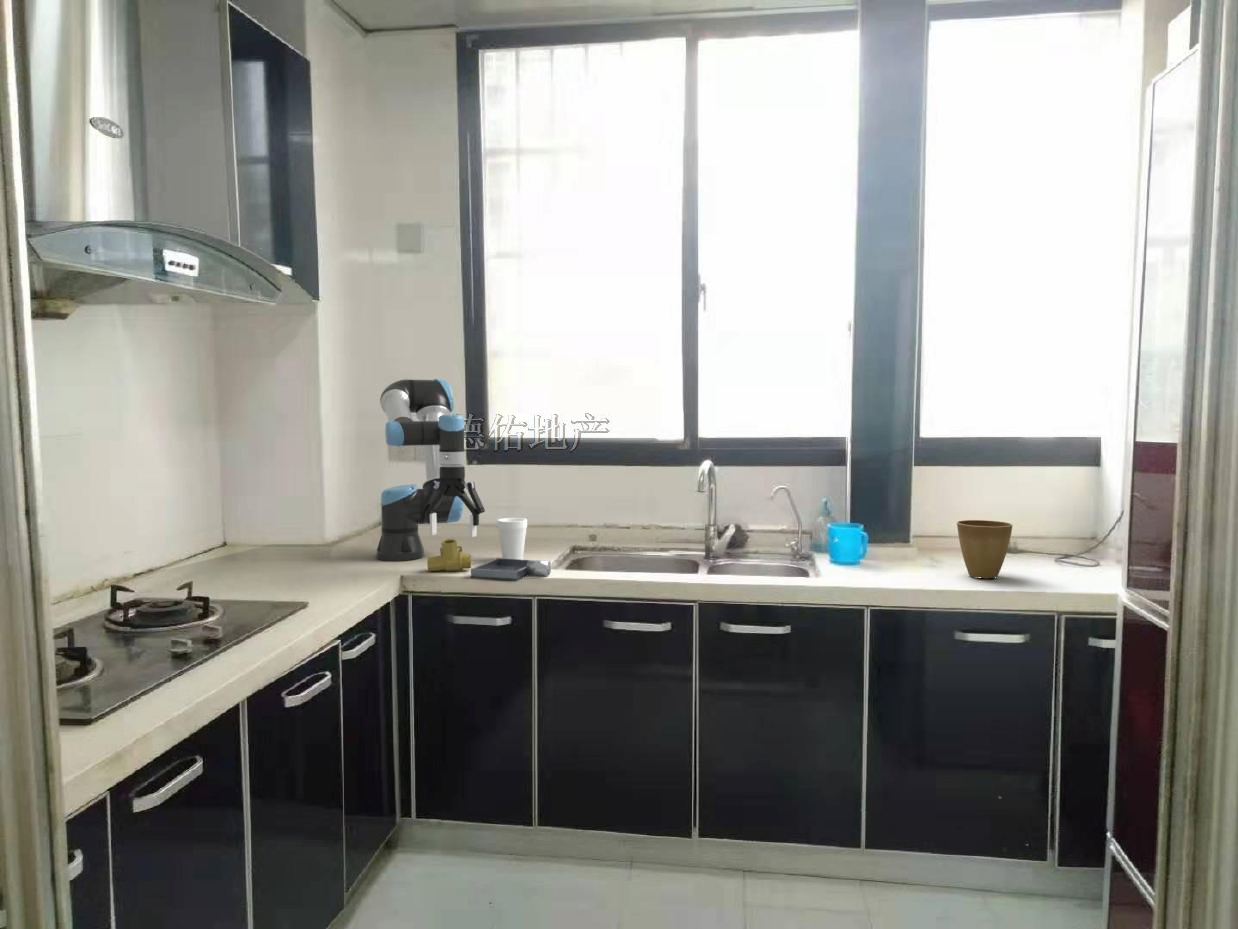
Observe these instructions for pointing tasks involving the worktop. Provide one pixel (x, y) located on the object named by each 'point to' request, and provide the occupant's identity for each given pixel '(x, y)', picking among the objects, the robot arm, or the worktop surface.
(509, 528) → the foam cup
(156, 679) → the worktop surface
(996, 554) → the plant pot
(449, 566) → the ball valve
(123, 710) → the worktop surface
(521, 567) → the fitting cradle
